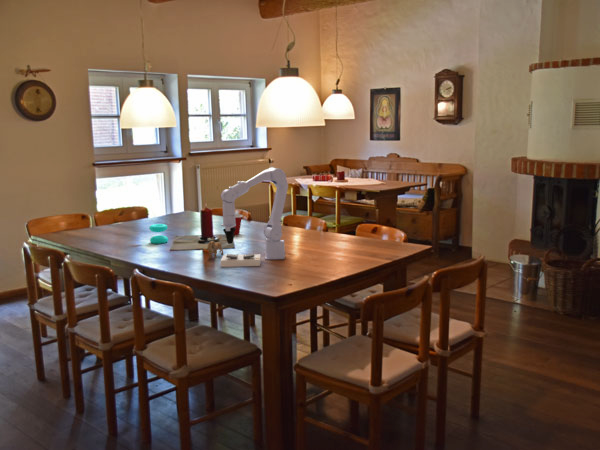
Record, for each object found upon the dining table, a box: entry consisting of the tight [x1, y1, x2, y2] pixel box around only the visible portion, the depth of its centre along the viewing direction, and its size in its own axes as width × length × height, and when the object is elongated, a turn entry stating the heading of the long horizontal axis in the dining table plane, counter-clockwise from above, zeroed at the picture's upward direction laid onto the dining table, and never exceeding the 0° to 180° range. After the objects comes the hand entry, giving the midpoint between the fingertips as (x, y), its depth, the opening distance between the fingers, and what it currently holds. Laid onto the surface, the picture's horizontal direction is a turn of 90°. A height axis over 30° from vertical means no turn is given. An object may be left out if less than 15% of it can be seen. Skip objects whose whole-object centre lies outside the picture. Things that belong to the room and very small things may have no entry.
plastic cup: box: [232, 213, 244, 236], centre depth 341 cm, size 11×11×12 cm
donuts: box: [149, 223, 169, 245], centre depth 321 cm, size 10×10×10 cm
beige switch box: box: [220, 253, 262, 268], centre depth 269 cm, size 18×11×3 cm, turn 91°
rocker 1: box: [226, 253, 239, 259], centre depth 266 cm, size 5×4×2 cm
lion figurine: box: [207, 240, 224, 259], centre depth 284 cm, size 15×5×9 cm, turn 172°
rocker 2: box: [243, 252, 255, 259], centre depth 266 cm, size 5×4×2 cm
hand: (230, 243), depth 269 cm, fingers closed
